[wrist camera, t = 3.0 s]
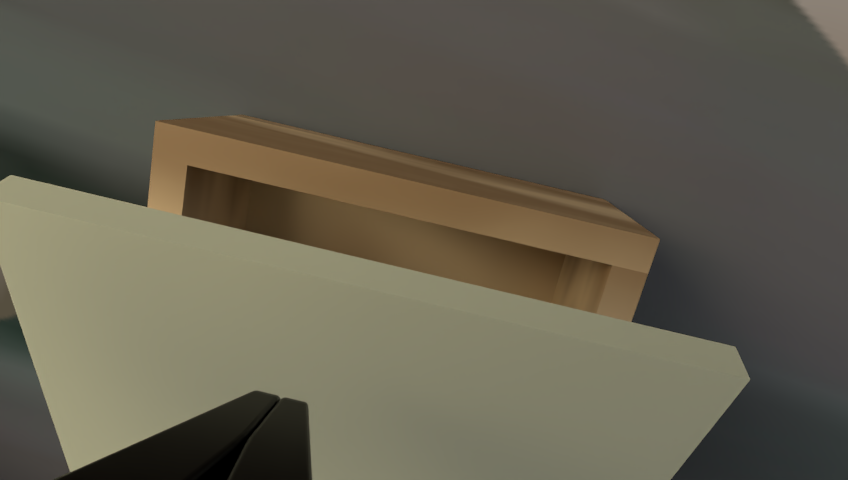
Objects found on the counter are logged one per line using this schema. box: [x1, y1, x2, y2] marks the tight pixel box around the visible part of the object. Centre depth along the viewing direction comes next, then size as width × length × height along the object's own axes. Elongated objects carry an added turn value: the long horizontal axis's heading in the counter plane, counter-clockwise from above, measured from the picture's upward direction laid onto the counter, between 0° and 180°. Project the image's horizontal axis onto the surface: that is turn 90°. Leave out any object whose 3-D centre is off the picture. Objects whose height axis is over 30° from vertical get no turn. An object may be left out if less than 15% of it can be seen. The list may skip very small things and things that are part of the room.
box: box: [148, 115, 660, 322], centre depth 20 cm, size 14×14×6 cm
